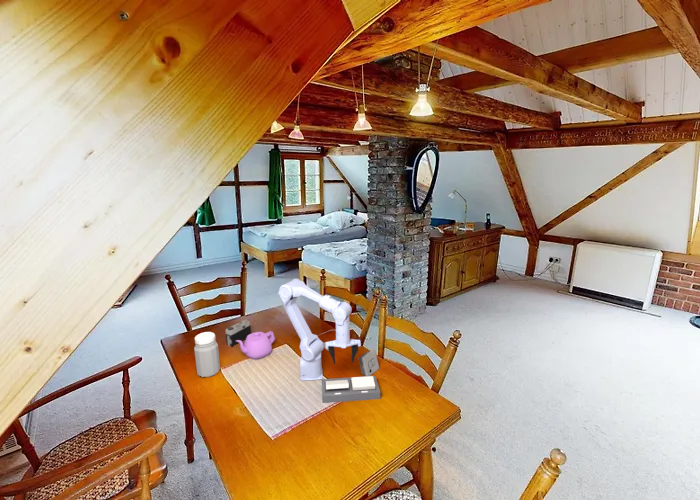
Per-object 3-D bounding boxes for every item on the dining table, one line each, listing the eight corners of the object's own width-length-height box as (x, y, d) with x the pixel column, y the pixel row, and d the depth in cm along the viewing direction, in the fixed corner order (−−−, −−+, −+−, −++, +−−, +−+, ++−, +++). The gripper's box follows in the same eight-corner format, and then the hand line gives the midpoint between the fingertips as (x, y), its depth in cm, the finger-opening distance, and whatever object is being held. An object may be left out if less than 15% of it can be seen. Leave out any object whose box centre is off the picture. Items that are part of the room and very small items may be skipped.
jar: (224, 372, 153) (220, 335, 148) (203, 381, 146) (198, 344, 142) (214, 363, 159) (210, 328, 155) (193, 372, 152) (188, 336, 148)
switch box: (322, 402, 132) (322, 396, 132) (321, 385, 143) (321, 379, 142) (380, 398, 135) (380, 392, 134) (375, 382, 145) (375, 375, 145)
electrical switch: (367, 378, 148) (366, 358, 146) (358, 375, 151) (356, 355, 150) (379, 368, 155) (378, 350, 154) (370, 365, 158) (369, 347, 157)
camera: (242, 332, 189) (241, 316, 187) (253, 338, 184) (252, 321, 181) (220, 342, 178) (219, 325, 176) (231, 348, 173) (229, 331, 171)
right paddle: (352, 390, 136) (352, 387, 135) (351, 380, 141) (351, 377, 140) (375, 389, 137) (375, 385, 136) (372, 379, 142) (372, 376, 141)
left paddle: (326, 389, 134) (325, 385, 135) (325, 385, 140) (325, 381, 140) (348, 387, 135) (348, 383, 136) (347, 383, 141) (347, 379, 141)
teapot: (231, 355, 166) (230, 334, 164) (268, 342, 179) (267, 322, 177) (243, 367, 157) (241, 345, 154) (281, 351, 170) (280, 331, 167)
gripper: (325, 338, 134) (326, 368, 137) (361, 335, 136) (361, 365, 139) (324, 329, 141) (325, 359, 144) (359, 327, 143) (359, 356, 146)
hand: (343, 361), depth 142 cm, fingers open, 7 cm apart
